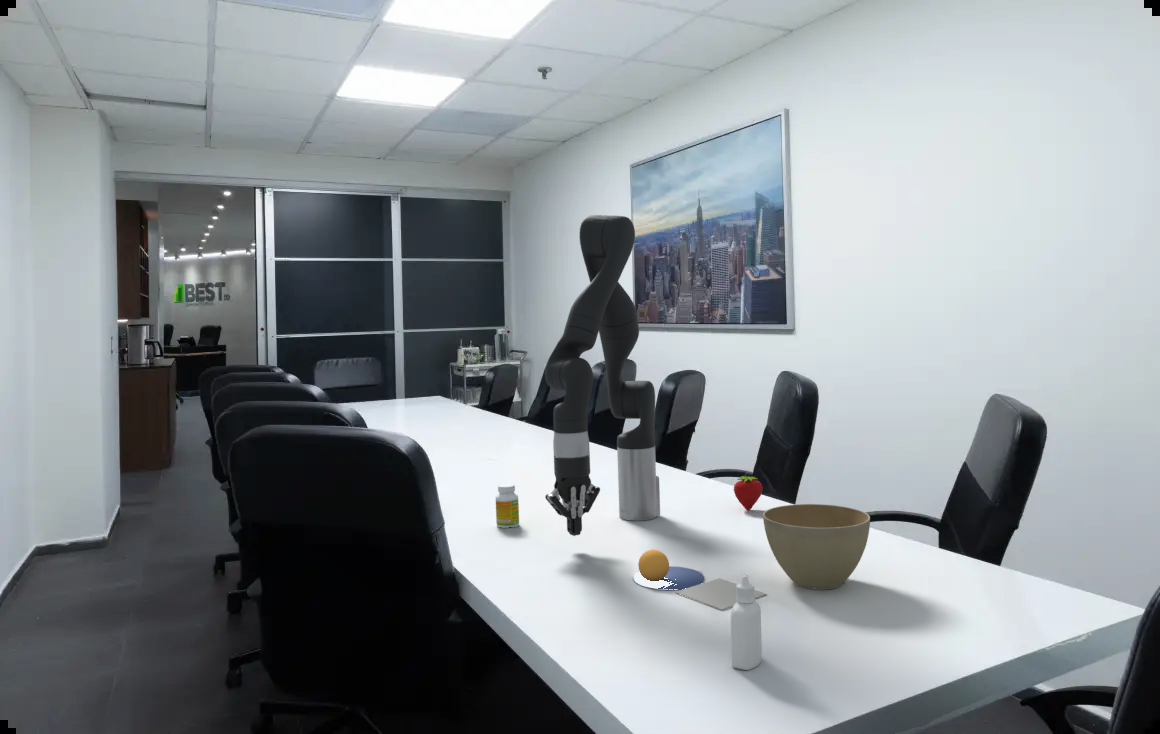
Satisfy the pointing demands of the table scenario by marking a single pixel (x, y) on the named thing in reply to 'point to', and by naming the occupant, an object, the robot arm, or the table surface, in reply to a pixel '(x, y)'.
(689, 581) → the disc
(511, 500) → the supplement bottle
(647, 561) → the ball
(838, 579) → the beige bowl
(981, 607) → the table surface
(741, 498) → the strawberry
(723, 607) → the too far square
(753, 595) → the eye dropper bottle
